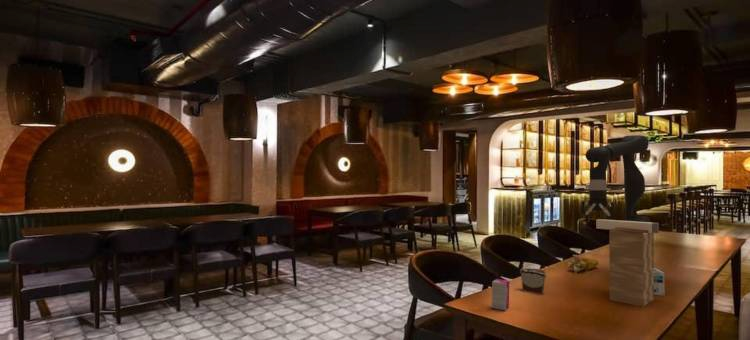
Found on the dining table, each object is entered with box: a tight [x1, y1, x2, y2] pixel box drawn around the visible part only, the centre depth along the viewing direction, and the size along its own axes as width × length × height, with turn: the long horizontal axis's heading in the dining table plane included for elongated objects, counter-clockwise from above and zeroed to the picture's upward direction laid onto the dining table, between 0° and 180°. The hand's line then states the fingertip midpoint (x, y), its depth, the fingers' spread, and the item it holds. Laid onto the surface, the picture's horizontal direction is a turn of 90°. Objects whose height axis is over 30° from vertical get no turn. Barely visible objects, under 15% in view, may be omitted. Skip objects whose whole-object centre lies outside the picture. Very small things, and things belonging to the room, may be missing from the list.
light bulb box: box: [654, 267, 666, 297], centre depth 202 cm, size 11×7×11 cm, turn 168°
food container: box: [519, 268, 547, 295], centre depth 205 cm, size 12×6×10 cm, turn 47°
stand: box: [608, 227, 655, 307], centre depth 191 cm, size 15×13×31 cm
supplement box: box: [491, 278, 510, 312], centre depth 179 cm, size 6×6×12 cm
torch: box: [567, 254, 600, 274], centre depth 247 cm, size 8×8×25 cm
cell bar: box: [595, 218, 660, 234], centre depth 195 cm, size 4×24×4 cm, turn 50°
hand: (597, 223), depth 206 cm, fingers open, 8 cm apart
